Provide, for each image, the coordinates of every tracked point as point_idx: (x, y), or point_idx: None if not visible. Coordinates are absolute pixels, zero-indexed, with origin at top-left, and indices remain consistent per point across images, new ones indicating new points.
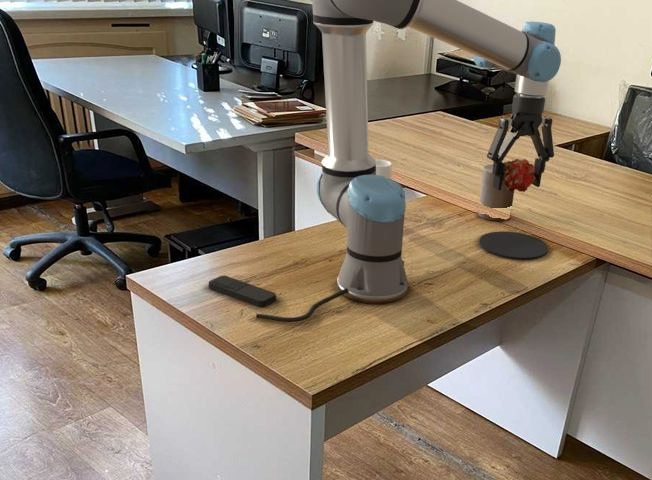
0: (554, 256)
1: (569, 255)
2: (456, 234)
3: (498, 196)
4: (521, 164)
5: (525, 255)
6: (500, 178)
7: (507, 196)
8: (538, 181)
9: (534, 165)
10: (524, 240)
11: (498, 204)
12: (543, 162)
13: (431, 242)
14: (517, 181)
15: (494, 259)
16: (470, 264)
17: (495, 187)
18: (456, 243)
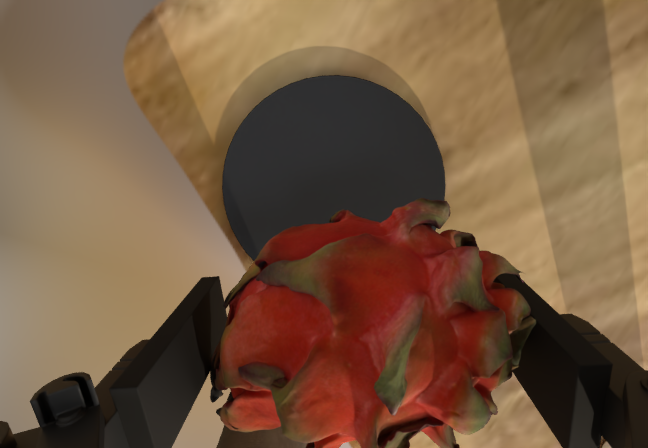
0: (231, 89)
1: (175, 89)
2: None
3: (285, 437)
4: (386, 340)
5: (339, 95)
6: (528, 290)
7: (251, 433)
8: (203, 293)
9: (185, 413)
10: (281, 215)
11: None
12: (117, 379)
13: (576, 262)
14: (432, 211)
15: (450, 100)
16: (555, 73)
17: None
18: (502, 243)
